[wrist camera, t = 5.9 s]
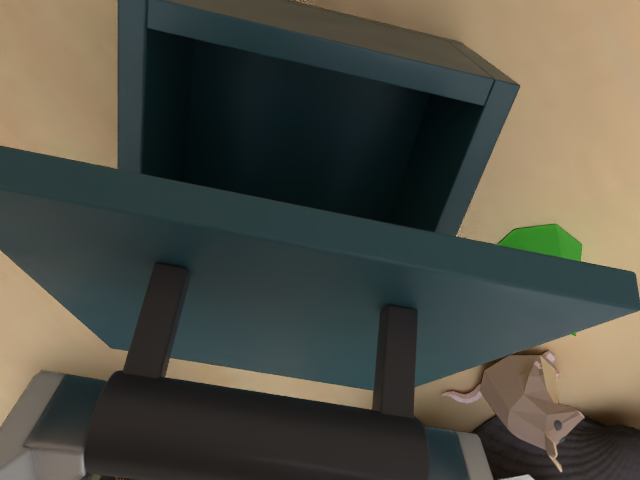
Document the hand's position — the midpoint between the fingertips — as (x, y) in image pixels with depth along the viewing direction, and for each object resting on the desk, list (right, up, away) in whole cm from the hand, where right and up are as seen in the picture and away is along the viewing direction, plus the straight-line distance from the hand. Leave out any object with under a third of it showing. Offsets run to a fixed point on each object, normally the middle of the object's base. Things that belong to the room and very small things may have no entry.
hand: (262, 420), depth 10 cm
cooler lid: (0, +2, +5) cm, 5 cm away
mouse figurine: (+14, -6, +24) cm, 28 cm away
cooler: (0, +8, +15) cm, 17 cm away
